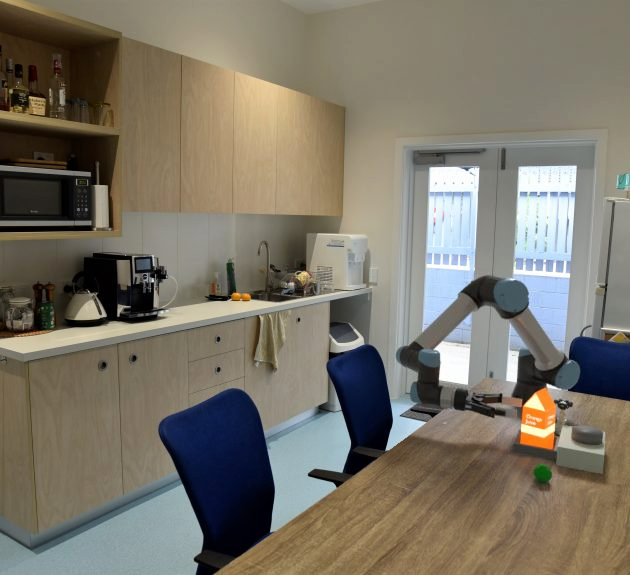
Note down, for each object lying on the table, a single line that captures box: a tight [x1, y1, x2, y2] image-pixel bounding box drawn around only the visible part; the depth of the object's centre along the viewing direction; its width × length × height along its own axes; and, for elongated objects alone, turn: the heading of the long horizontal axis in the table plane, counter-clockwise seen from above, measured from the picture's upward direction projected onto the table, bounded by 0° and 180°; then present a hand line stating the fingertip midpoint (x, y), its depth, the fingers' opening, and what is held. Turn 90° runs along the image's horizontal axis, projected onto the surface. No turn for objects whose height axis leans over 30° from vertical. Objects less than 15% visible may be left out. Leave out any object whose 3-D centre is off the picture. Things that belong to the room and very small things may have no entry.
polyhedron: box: [532, 463, 553, 483], centre depth 173 cm, size 5×5×5 cm
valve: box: [553, 398, 574, 436], centre depth 210 cm, size 7×7×12 cm
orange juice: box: [520, 388, 557, 449], centre depth 196 cm, size 8×9×20 cm
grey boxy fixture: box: [512, 424, 606, 475], centre depth 194 cm, size 22×26×9 cm
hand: (519, 408), depth 198 cm, fingers open, 13 cm apart
